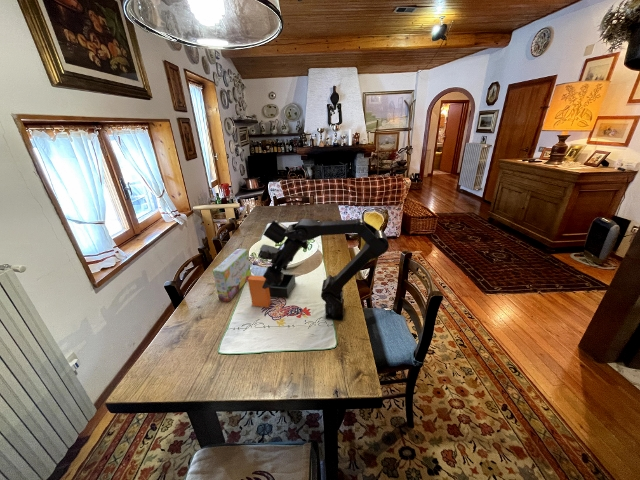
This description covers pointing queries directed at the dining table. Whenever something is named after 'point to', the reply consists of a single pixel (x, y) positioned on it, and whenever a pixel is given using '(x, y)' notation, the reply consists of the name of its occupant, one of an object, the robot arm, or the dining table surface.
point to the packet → (259, 291)
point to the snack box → (232, 274)
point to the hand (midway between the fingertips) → (266, 281)
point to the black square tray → (283, 287)
